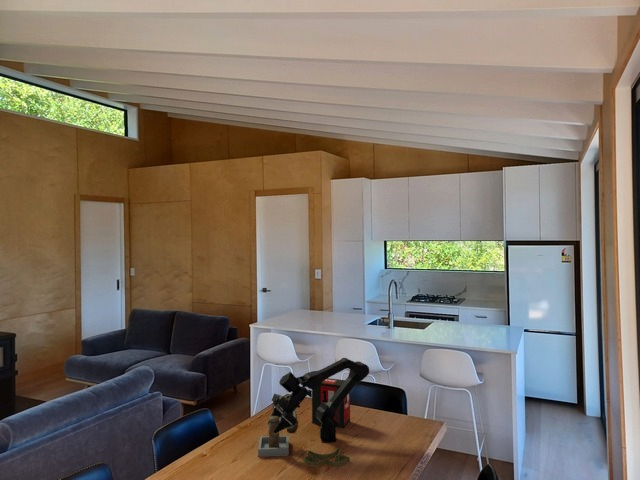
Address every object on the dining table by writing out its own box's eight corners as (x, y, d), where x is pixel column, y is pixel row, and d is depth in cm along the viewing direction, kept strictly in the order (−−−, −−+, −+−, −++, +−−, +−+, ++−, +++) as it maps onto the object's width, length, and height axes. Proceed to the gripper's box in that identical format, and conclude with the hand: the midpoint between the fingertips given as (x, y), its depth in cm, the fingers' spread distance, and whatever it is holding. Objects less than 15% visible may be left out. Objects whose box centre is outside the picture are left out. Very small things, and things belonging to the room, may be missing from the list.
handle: (280, 445, 191) (280, 416, 191) (277, 450, 186) (277, 420, 187) (270, 444, 192) (270, 415, 192) (267, 449, 187) (266, 419, 188)
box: (288, 442, 196) (288, 435, 196) (288, 455, 183) (288, 448, 183) (260, 443, 195) (260, 436, 195) (258, 456, 182) (258, 449, 182)
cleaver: (298, 432, 207) (298, 428, 207) (277, 433, 205) (277, 429, 206) (294, 410, 236) (294, 406, 236) (276, 411, 235) (276, 407, 235)
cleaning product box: (350, 421, 219) (349, 380, 219) (344, 428, 211) (343, 385, 211) (319, 416, 225) (318, 377, 225) (312, 423, 217) (311, 382, 217)
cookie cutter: (344, 452, 187) (344, 447, 187) (351, 466, 175) (351, 460, 175) (302, 455, 184) (302, 451, 184) (306, 470, 172) (306, 465, 172)
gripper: (276, 381, 200) (252, 409, 195) (289, 393, 182) (263, 425, 178) (293, 396, 203) (270, 424, 198) (307, 410, 185) (282, 441, 181)
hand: (271, 428), depth 189 cm, fingers open, 9 cm apart
